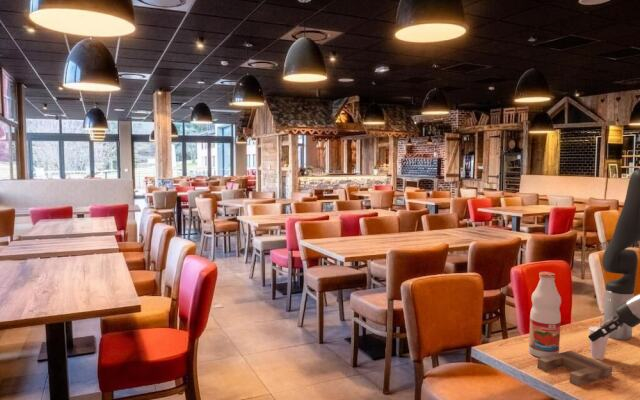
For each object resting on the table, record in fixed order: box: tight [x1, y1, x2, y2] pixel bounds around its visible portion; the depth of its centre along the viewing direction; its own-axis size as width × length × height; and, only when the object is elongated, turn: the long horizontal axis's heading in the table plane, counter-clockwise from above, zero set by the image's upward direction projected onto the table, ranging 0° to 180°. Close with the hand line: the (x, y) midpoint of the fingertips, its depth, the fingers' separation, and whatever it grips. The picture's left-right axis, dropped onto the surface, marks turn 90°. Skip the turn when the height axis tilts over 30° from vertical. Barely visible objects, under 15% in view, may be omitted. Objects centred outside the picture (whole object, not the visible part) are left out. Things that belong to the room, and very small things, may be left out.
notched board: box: [536, 350, 613, 387], centre depth 153 cm, size 16×14×3 cm
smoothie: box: [588, 316, 610, 361], centre depth 164 cm, size 6×6×14 cm
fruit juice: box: [528, 271, 562, 358], centre depth 166 cm, size 9×9×28 cm
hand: (593, 336), depth 166 cm, fingers closed on smoothie, 6 cm apart
